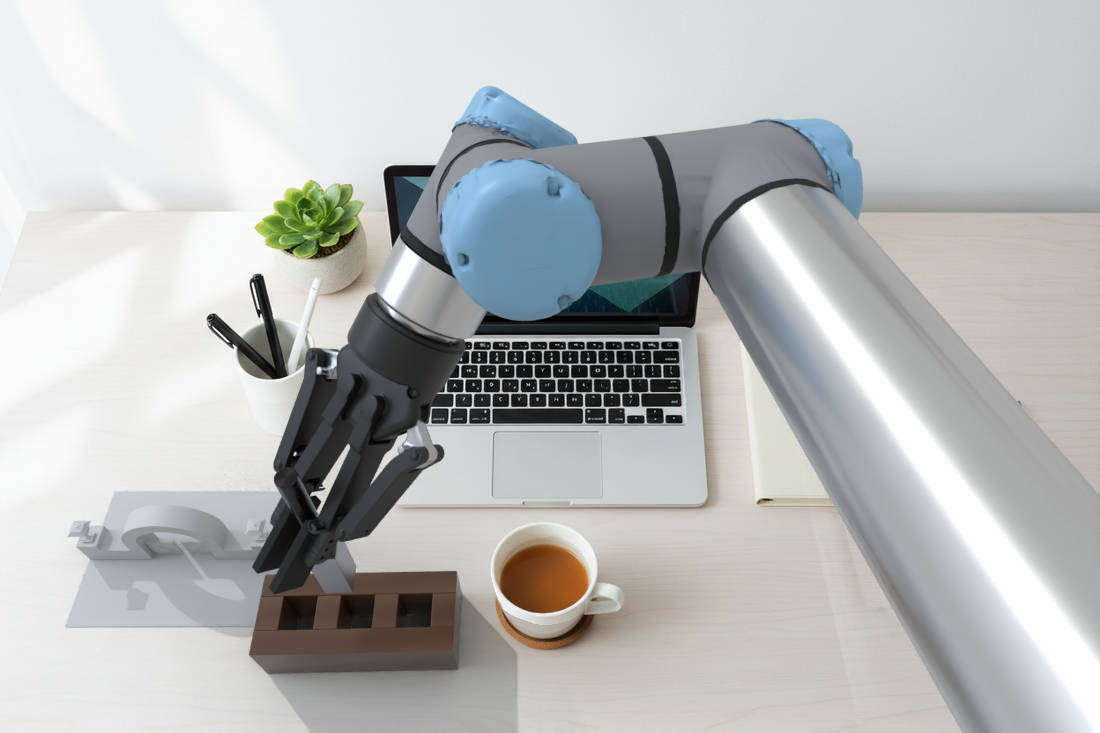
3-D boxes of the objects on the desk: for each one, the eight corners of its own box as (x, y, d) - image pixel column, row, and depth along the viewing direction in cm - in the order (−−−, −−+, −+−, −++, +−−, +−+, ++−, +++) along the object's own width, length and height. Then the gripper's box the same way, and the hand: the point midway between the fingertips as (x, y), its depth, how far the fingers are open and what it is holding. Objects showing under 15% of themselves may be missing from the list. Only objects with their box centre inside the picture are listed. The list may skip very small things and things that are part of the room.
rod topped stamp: (353, 592, 66) (300, 493, 52) (324, 593, 66) (263, 493, 52) (356, 565, 67) (306, 461, 53) (328, 566, 67) (271, 461, 53)
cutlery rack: (458, 669, 75) (453, 650, 71) (267, 674, 75) (248, 655, 70) (462, 593, 80) (457, 570, 75) (281, 596, 80) (264, 574, 75)
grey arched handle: (90, 559, 82) (52, 526, 75) (98, 539, 83) (61, 504, 77) (278, 559, 82) (256, 525, 75) (283, 538, 83) (261, 504, 77)
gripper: (524, 378, 53) (370, 632, 59) (391, 267, 59) (264, 508, 65) (459, 376, 47) (293, 662, 53) (316, 252, 53) (183, 521, 59)
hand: (277, 576), depth 59 cm, fingers closed on rod topped stamp, 1 cm apart
